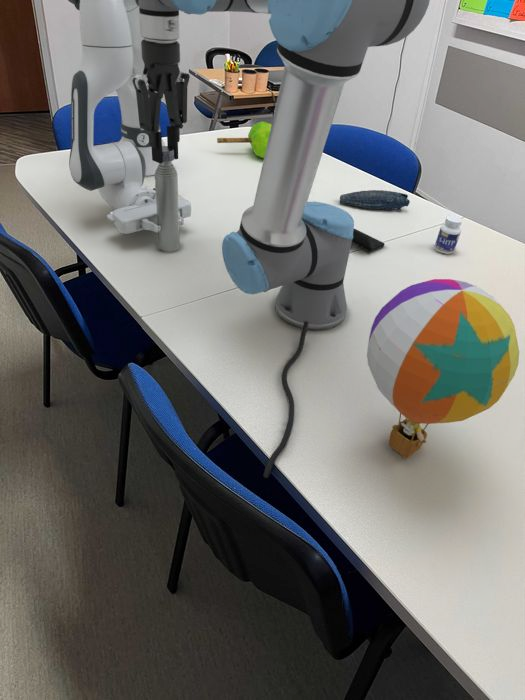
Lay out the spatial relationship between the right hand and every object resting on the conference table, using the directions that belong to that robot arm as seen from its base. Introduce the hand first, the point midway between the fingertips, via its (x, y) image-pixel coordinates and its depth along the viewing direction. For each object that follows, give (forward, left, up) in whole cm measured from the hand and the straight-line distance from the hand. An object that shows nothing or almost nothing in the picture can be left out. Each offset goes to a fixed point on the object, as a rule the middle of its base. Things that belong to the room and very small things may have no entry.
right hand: (165, 159), depth 117 cm
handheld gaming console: (+16, -47, -22) cm, 55 cm away
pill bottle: (+20, -71, -22) cm, 77 cm away
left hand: (0, -1, -16) cm, 16 cm away
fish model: (+43, -52, -22) cm, 71 cm away
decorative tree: (+77, -10, -22) cm, 81 cm away
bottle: (0, 0, -22) cm, 22 cm away
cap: (0, 0, +2) cm, 2 cm away
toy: (-55, -55, -22) cm, 81 cm away
